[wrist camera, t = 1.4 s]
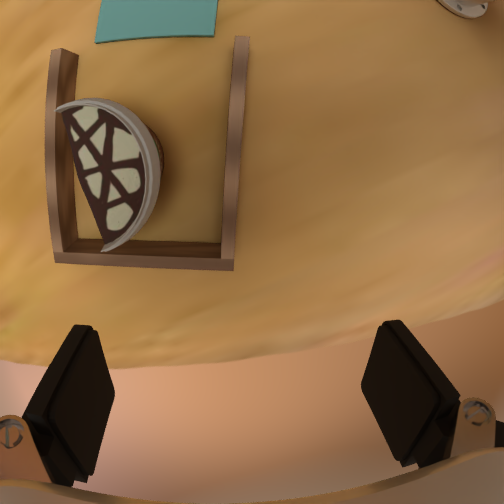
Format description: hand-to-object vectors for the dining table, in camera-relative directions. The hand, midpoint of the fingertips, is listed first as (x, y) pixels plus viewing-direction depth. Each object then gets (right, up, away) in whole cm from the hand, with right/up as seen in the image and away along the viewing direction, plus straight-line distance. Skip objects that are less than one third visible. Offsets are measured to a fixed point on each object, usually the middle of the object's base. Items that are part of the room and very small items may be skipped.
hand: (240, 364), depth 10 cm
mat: (-9, +32, +12) cm, 35 cm away
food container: (-10, +13, +19) cm, 25 cm away
